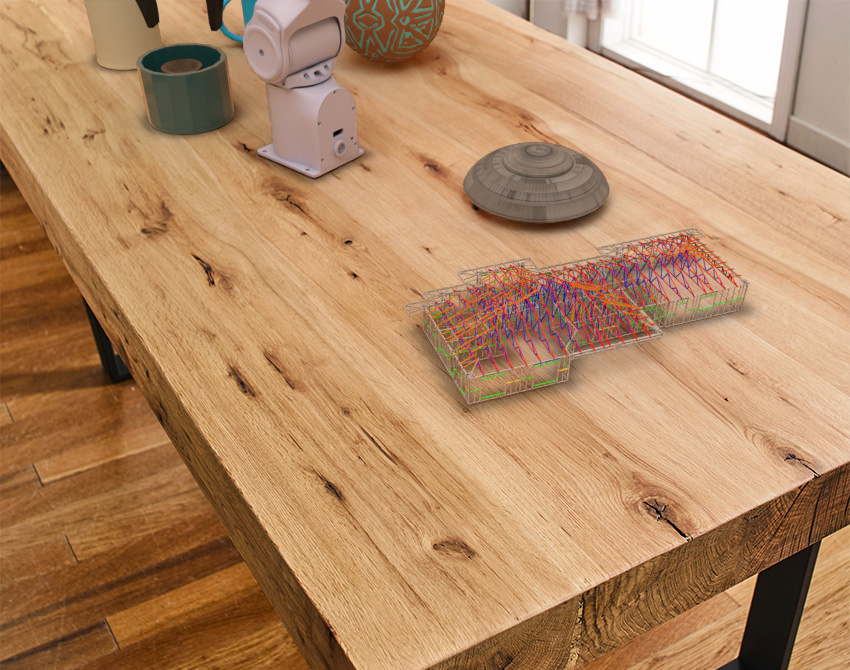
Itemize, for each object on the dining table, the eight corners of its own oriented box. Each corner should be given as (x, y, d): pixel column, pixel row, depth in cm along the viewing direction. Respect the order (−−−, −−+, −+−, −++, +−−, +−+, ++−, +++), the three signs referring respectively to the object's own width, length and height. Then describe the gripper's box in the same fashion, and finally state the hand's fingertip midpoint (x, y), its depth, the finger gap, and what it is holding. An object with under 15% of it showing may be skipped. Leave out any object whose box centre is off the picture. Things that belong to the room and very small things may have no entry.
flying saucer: (615, 174, 100) (622, 125, 96) (597, 243, 89) (604, 192, 86) (480, 158, 103) (482, 110, 99) (446, 224, 92) (447, 173, 89)
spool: (214, 115, 111) (207, 69, 107) (175, 123, 110) (166, 76, 106) (203, 101, 114) (196, 56, 111) (165, 108, 113) (156, 62, 109)
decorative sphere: (425, 86, 119) (423, -40, 109) (317, 74, 122) (306, -50, 112) (458, 46, 129) (459, -72, 119) (358, 36, 133) (351, -80, 123)
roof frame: (687, 245, 89) (697, 195, 85) (783, 332, 78) (799, 279, 75) (391, 306, 82) (389, 255, 78) (452, 412, 71) (453, 358, 67)
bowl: (251, 114, 113) (243, 56, 108) (184, 142, 107) (173, 82, 102) (198, 93, 118) (188, 36, 113) (132, 118, 112) (118, 60, 107)
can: (97, 73, 123) (74, -23, 115) (96, 49, 130) (74, -43, 122) (168, 66, 125) (149, -30, 117) (163, 42, 131) (146, -49, 123)
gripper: (80, -100, 96) (111, 35, 105) (214, -95, 94) (234, 41, 103) (109, -115, 101) (136, 15, 110) (236, -111, 99) (253, 20, 108)
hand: (185, 26), depth 107 cm, fingers open, 7 cm apart
